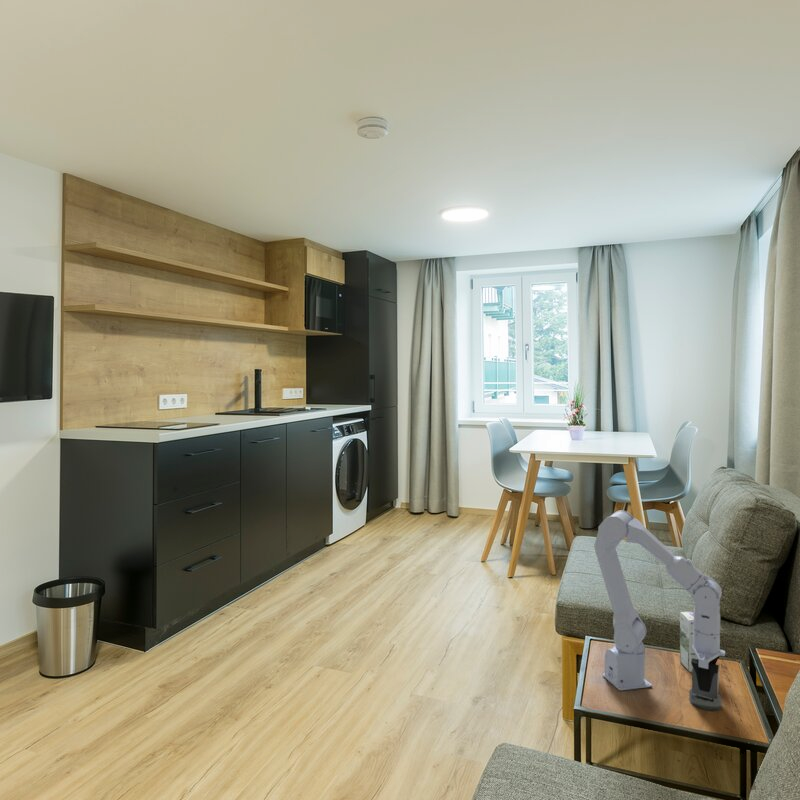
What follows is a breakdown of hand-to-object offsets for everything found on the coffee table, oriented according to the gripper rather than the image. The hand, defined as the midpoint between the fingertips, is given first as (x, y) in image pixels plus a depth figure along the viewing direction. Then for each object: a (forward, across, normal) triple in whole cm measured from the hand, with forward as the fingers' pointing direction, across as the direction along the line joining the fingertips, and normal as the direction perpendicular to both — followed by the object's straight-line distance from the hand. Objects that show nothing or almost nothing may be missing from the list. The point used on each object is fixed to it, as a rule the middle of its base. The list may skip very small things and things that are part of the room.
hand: (705, 685), depth 141 cm
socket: (+1, 0, 0) cm, 1 cm away
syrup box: (+5, +18, +4) cm, 19 cm away
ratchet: (+4, +4, 0) cm, 6 cm away
